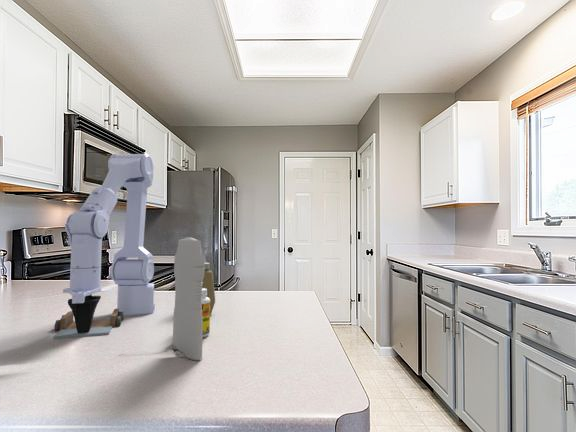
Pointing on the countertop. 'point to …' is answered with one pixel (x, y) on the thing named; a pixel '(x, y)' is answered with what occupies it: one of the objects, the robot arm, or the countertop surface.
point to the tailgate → (73, 333)
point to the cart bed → (114, 321)
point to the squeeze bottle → (208, 283)
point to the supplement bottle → (205, 313)
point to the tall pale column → (188, 299)
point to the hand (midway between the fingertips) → (83, 331)
